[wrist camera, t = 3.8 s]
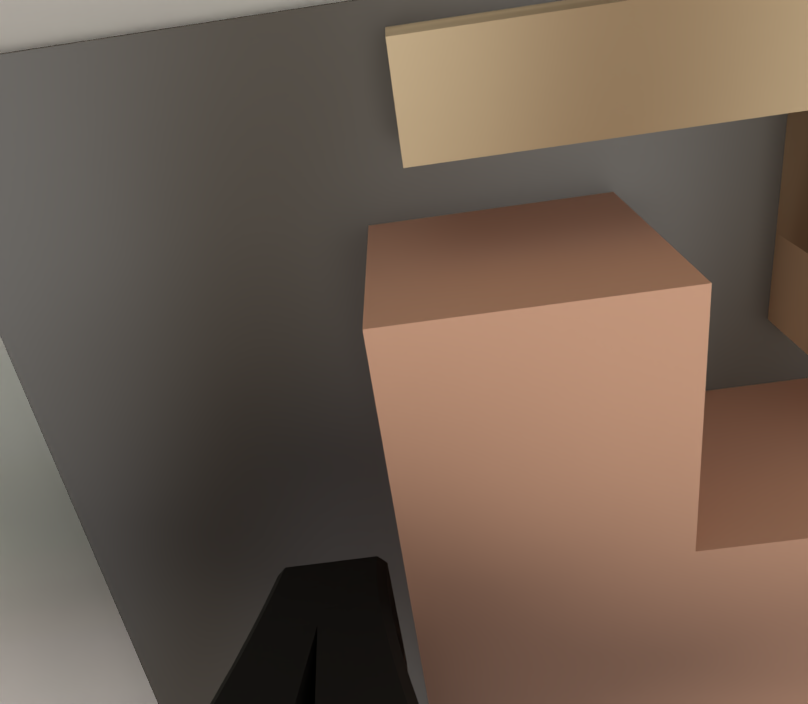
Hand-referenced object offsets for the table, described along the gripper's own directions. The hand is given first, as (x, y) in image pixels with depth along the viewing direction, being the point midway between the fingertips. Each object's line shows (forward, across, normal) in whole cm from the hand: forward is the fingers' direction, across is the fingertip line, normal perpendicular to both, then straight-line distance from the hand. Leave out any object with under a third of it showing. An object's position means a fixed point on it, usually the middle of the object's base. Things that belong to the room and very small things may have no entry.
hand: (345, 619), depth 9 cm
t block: (+2, -5, 0) cm, 5 cm away
